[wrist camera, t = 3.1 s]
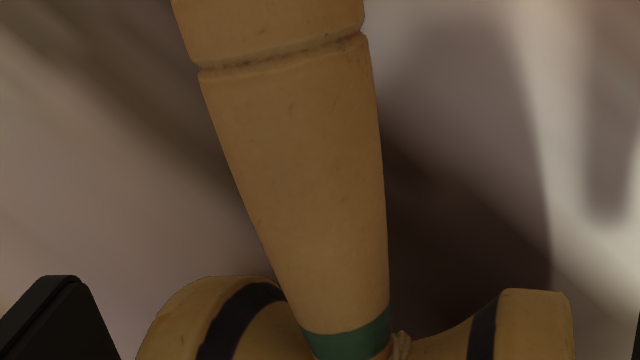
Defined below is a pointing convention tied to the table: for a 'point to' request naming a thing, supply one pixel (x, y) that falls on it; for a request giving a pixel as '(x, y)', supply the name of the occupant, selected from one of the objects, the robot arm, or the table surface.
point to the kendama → (315, 204)
